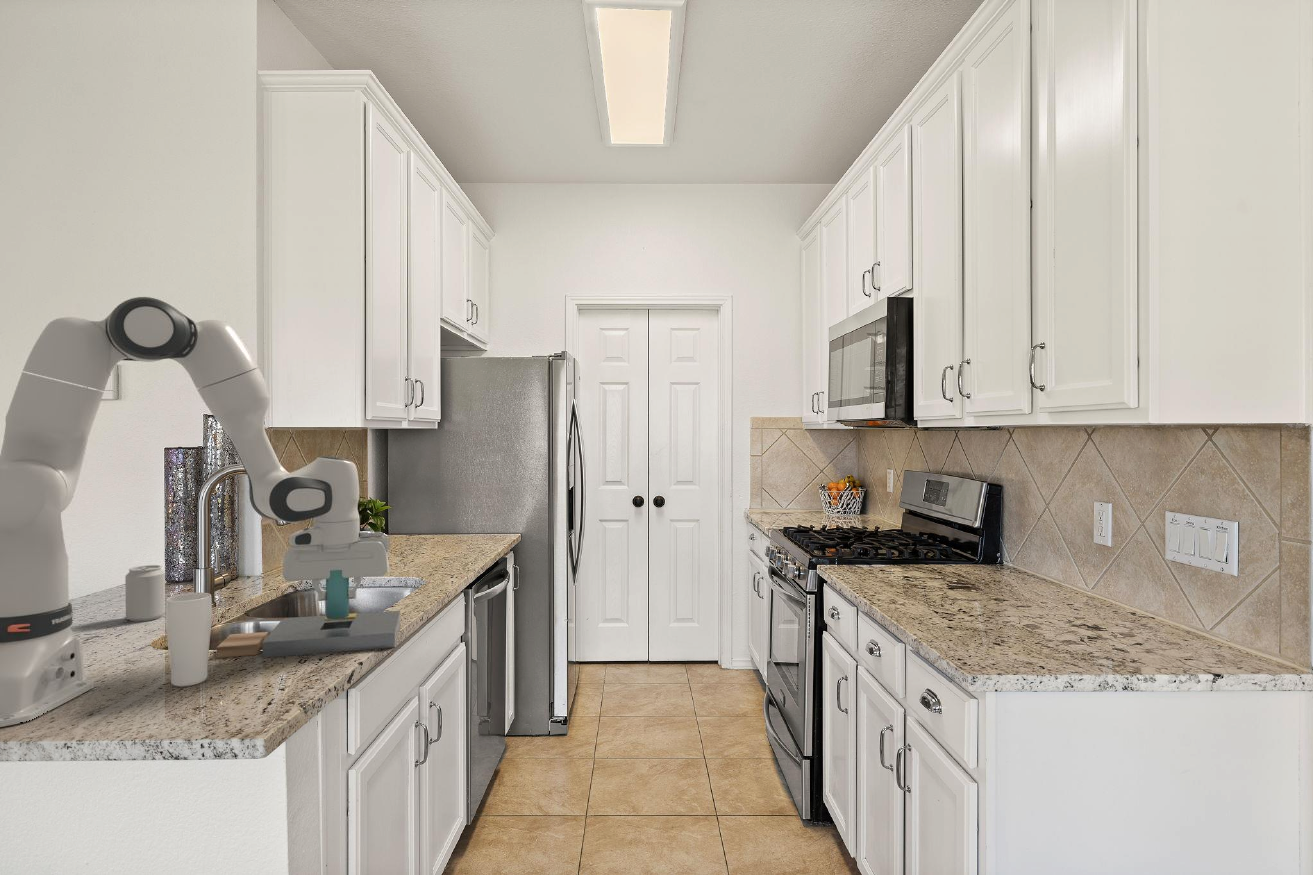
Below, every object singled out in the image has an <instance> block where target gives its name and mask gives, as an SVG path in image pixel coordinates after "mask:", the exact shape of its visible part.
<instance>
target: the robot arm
mask: <svg viewBox="0 0 1313 875" xmlns="http://www.w3.org/2000/svg"><path fill="white" fill-rule="evenodd" d="M167 359H168V360H169V359H170V360H173V361H176V362H177V363H178V364H180V365H181V366H182V367H183V368H184V369H185V370H186V372H187V374H188V375H189V377H190V378H191V380H192V382H193V384H194V386H195V388H196V389H197V390H196V391H197V392H198V394H199V396H200V398H202V400H203V402H204V404H205V405H206V407H207V408H208V409H209V411H210V413H211V414H212V415H213V417H214V418H215V420H216V421H217V422H218V424H220V426H221V427H222V429H223V430H224V432H225V433H226V434H227V436H228V438H229V440H230V442H231V444H232V446H233V448H234V450H235V452H236V454H237V456H238V458H239V461H240V462H241V464H242V466H243V469H244V470H245V472H246V475H247V479H248V488H249V489H248V490H249V501H250V505H251V507H252V508H253V510H254V511H255V513H257V514H258V515H259V516H261V517H262V518H265V519H268V520H276V521H280V522H285V523H293V524H294V523H299V522H302V521H306V520H311V519H313V526H309V527H307V528H304V529H301V530H298V531H295V532H294V533H292V534H291V535H290V536H289V537H288V543H289V545H290V547H288V548H287V550H286V552H285V554H284V558H283V564H282V577H283V579H284V580H285V581H286V582H297V581H311V585H312V587H313V589H314V590H315V592H316V593H317V600H318V602H322V601H325V602H326V590H323V589H322V587H321V585H320V584H321V583H322V580H326V579H329V578H330V571H335V570H342V576H343V578H349V579H351V578H353V583H356V584H355V585H354V587H353V588H349V591H348V595H349V596H348V599H349V600H355V599H357V593H358V592H357V590H358V588H359V586H360V585H361V584H362V581H363V578H367V577H368V578H370V577H384V576H386V574H387V573H388V572H389V570H390V568H389V566H390V564H389V556H388V552H389V551H390V548H391V539H390V537H389V535H388V534H385V533H383V531H375V532H368V531H367V532H361V530H360V528H361V527H360V526H361V525H360V524H361V522H360V514H359V510H358V504H359V500H360V483H359V473H358V468H357V466H356V464H355V463H354V462H353V461H352V460H350V459H348V458H341V457H336V456H329V455H328V456H326V455H325V456H324V455H322V456H318V457H317V458H315V460H313V461H312V462H310V463H309V464H307V465H305V466H304V467H301V468H299V469H297V470H294V471H291V472H289V471H287V470H286V468H284V467H283V465H282V464H281V462H280V461H279V458H278V457H277V455H276V452H275V450H274V449H273V446H272V443H271V441H270V440H269V438H268V437H269V436H268V435H267V433H266V430H265V429H266V428H265V416H266V413H267V410H268V409H269V406H270V402H271V397H270V392H269V389H268V386H267V383H266V380H265V378H264V376H263V374H262V372H261V370H260V367H259V366H258V364H257V361H256V360H255V358H254V356H253V355H252V353H251V350H249V348H248V347H247V345H246V343H245V342H244V341H243V340H242V338H241V337H240V336H239V334H238V333H237V332H236V331H235V329H234V328H233V327H232V326H231V325H230V324H229V323H227V322H224V321H222V320H217V319H209V320H208V319H207V320H202V321H198V322H195V321H194V320H192V319H191V318H190V317H188V316H187V315H185V314H184V313H182V312H180V311H179V310H178V309H177V308H175V307H174V306H172V305H171V304H169V303H167V302H165V301H163V300H161V299H158V298H155V297H149V296H138V297H132V298H130V299H127V300H125V301H122V302H121V303H120V304H118V305H117V306H116V307H115V308H114V309H113V310H112V311H110V313H109V315H108V316H106V317H105V319H102V320H98V321H97V320H96V321H94V320H88V319H86V318H80V317H73V316H71V317H70V316H69V317H66V316H65V317H60V318H56V319H53V320H52V321H51V322H48V324H46V326H45V328H44V329H43V331H42V332H41V333H40V335H39V336H38V338H37V340H36V341H35V343H34V345H33V347H32V349H31V351H30V352H29V355H28V357H27V358H26V362H25V364H24V367H23V368H22V371H23V372H21V375H20V376H19V379H18V383H17V386H16V388H15V391H14V393H13V396H12V399H11V402H10V405H9V407H8V410H7V413H6V416H5V428H4V434H3V441H2V446H1V449H0V450H1V451H0V728H1V727H8V726H13V725H18V724H21V723H20V722H23V723H26V721H27V722H30V721H32V719H33V720H34V718H35V719H37V718H38V716H39V717H41V716H42V715H44V714H46V713H48V712H50V711H51V710H53V709H56V708H57V707H59V706H61V705H63V704H65V703H67V702H69V701H71V700H72V699H75V698H76V697H78V696H81V695H83V694H84V693H86V692H88V691H90V690H91V689H94V688H95V681H94V680H93V679H88V678H86V671H85V662H84V660H85V659H84V652H83V643H82V642H83V641H82V639H81V638H79V636H77V635H76V634H75V633H74V632H73V630H72V628H71V625H72V624H73V616H74V611H73V605H72V603H70V600H69V598H70V597H69V592H70V591H69V556H68V553H67V549H66V544H65V538H64V531H63V522H62V513H63V512H64V511H65V510H67V508H68V506H70V504H71V502H72V500H73V498H74V495H75V492H76V489H77V488H76V487H77V485H78V481H79V477H80V474H81V470H82V466H83V462H84V458H85V454H86V449H87V446H88V445H87V444H88V441H89V436H90V434H91V431H92V428H93V425H94V422H95V418H96V417H97V413H98V410H99V407H100V404H101V401H102V400H103V396H104V392H105V390H106V388H107V387H106V386H107V384H108V381H109V378H110V375H111V373H112V371H113V369H114V368H115V367H116V365H117V364H118V363H120V362H121V361H126V362H127V361H133V362H145V363H146V362H147V363H151V362H154V363H155V362H159V361H162V360H167ZM47 711H48V712H47ZM43 713H44V714H43ZM36 717H37V718H36ZM29 720H30V721H29Z"/></svg>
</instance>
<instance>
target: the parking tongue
mask: <svg viewBox="0 0 1313 875" xmlns="http://www.w3.org/2000/svg"><path fill="white" fill-rule="evenodd" d="M268 635H269V631H260V632H246V633H234V634H231V633H230V634H229V635H228V636H227V637H226V638H225V639H224V640H223V641H222V642H221V643H219V645H217V646H216V658H219V659H220V658H231V657H246V656H258V654H259V653H260V651H262V650H263V644H262V642H263V641H264V640H265V639H266V638H267V637H268Z"/></svg>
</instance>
